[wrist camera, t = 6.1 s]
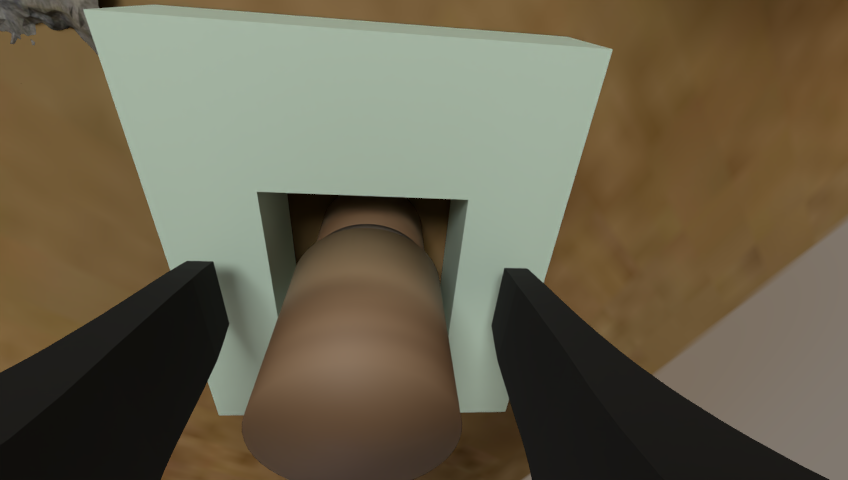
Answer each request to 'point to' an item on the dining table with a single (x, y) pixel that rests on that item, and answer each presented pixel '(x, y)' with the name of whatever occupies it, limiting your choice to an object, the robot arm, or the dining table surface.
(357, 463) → the peg
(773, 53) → the dining table surface
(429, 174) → the board
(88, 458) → the robot arm
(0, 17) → the driftwood
